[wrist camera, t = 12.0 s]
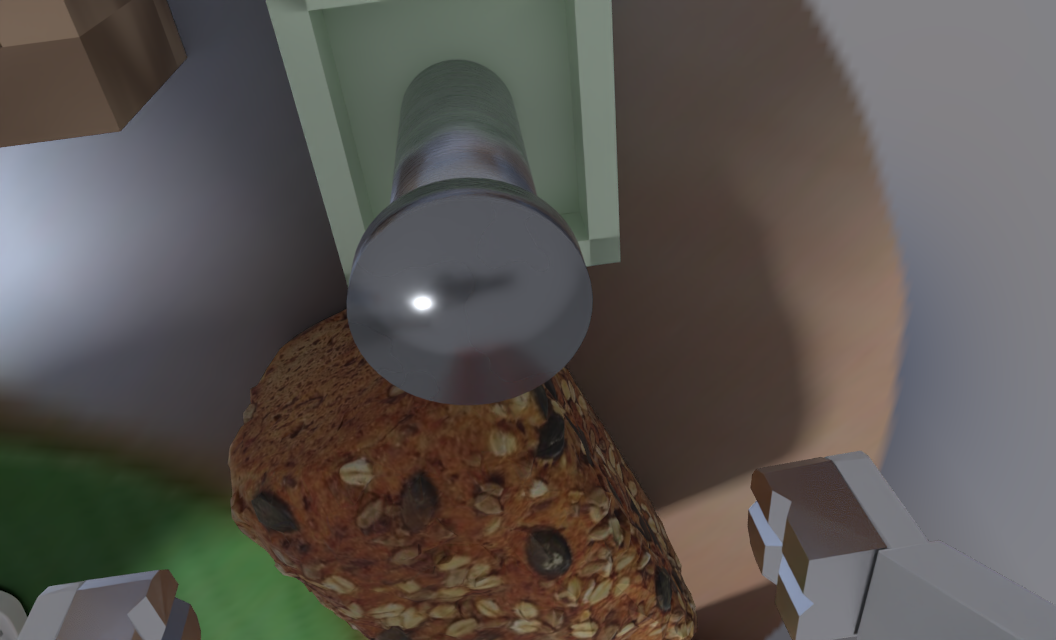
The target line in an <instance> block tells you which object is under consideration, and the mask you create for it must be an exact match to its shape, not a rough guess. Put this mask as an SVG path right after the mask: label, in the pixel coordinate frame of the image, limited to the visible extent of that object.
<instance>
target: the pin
mask: <svg viewBox="0 0 1056 640" xmlns="http://www.w3.org/2000/svg"><path fill="white" fill-rule="evenodd" d="M346 303H347V318H348V323H349V328H350V331H351V334H352V336H353V339H354V342H355V344H356V345H357V347H358V349H359V351H360V353H361V354H362V355H363V357H364V358H365V359H366V361H367V362H368V363H369V365H370V366H371V367H372V368H373V369H374V370H375V371H376V372H377V373H378V374H379V375H381V376H382V377H383V378H385V379H386V380H387V381H388V382H390V383H391V384H393V385H395V386H396V387H398V388H400V389H401V390H403V391H405V392H408V393H410V394H412V395H414V396H417V397H420V398H423V399H426V400H429V401H434V402H438V403H443V404H452V405H482V404H490V403H495V402H501V401H504V400H508V399H511V398H514V397H517V396H520V395H522V394H524V393H527V392H529V391H531V390H533V389H535V388H537V387H538V386H540V385H542V384H543V383H545V382H546V381H548V380H549V379H551V378H552V377H553V376H554V375H556V374H557V373H558V372H559V371H560V370H561V369H562V368H563V367H564V366H565V365H566V364H567V363H568V362H569V361H570V360H571V359H572V357H573V356H574V354H575V353H576V351H577V350H578V349H579V347H580V345H581V343H582V341H583V339H584V337H585V335H586V333H587V330H588V327H589V324H590V320H591V314H592V303H593V295H592V287H591V281H590V278H589V275H588V271H587V268H586V265H585V262H584V259H583V256H582V252H581V249H580V246H579V244H578V241H577V239H576V237H575V235H574V233H573V231H572V230H571V228H570V227H569V225H568V224H567V222H566V221H565V220H564V219H563V217H562V216H561V215H560V214H559V213H558V212H557V211H556V210H555V209H554V208H553V207H551V206H550V205H549V204H548V203H547V202H545V201H544V200H543V199H541V198H539V197H538V196H537V193H536V189H535V185H534V181H533V177H532V174H531V170H530V166H529V162H528V158H527V154H526V150H525V146H524V142H523V138H522V134H521V130H520V126H519V122H518V118H517V114H516V110H515V106H514V102H513V99H512V96H511V94H510V92H509V90H508V88H507V87H506V85H505V83H504V82H503V81H502V80H501V79H500V77H498V76H497V75H496V74H495V73H494V72H493V71H491V70H490V69H488V68H487V67H485V66H483V65H481V64H478V63H475V62H472V61H468V60H458V59H457V60H447V61H442V62H439V63H436V64H433V65H431V66H429V67H427V68H426V69H425V70H423V71H422V72H420V73H419V74H418V75H417V76H416V77H415V78H414V79H413V81H412V82H411V83H410V85H409V86H408V88H407V90H406V92H405V94H404V97H403V100H402V105H401V112H400V121H399V130H398V138H397V147H396V156H395V164H394V173H393V182H392V191H391V199H390V205H388V206H387V207H386V208H385V209H384V210H382V211H381V212H380V213H379V214H378V216H377V217H376V218H375V219H374V220H373V221H372V222H371V223H370V225H369V227H368V228H367V230H366V231H365V233H364V234H363V236H362V238H361V240H360V242H359V244H358V246H357V249H356V252H355V256H354V259H353V264H352V269H351V275H350V280H349V286H348V293H347V301H346Z"/></svg>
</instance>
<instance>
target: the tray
mask: <svg viewBox="0 0 1056 640" xmlns="http://www.w3.org/2000/svg"><path fill="white" fill-rule="evenodd" d="M266 4H267V7H268V11H269V14H270V18H271V21H272V25H273V28H274V32H275V35H276V39H277V42H278V46H279V49H280V53H281V56H282V60H283V63H284V66H285V70H286V73H287V77H288V80H289V84H290V87H291V91H292V94H293V98H294V101H295V105H296V108H297V112H298V115H299V119H300V122H301V125H302V129H303V132H304V136H305V139H306V143H307V146H308V150H309V153H310V157H311V160H312V164H313V167H314V171H315V174H316V178H317V181H318V184H319V188H320V191H321V195H322V198H323V202H324V205H325V209H326V212H327V216H328V219H329V223H330V226H331V230H332V233H333V237H334V240H335V243H336V247H337V250H338V254H339V257H340V261H341V264H342V268H343V271H344V275H345V278H346V282H347V285H348V286H349V280H350V275H351V269H352V264H353V259H354V256H355V252H356V249H357V246H358V244H359V242H360V240H361V238H362V236H363V234H364V233H365V231H366V230H367V228H368V227H369V225H370V223H371V222H372V221H373V220H374V219H375V218H376V217H377V216H378V214H379V213H380V212H381V211H382V210H384V209H385V208H386V207H387V206H388V205H390V199H391V191H392V182H393V173H394V164H395V156H396V147H397V138H398V130H399V121H400V112H401V105H402V100H403V97H404V94H405V92H406V90H407V88H408V86H409V85H410V83H411V82H412V81H413V79H414V78H415V77H416V76H417V75H418V74H419V73H420V72H422V71H423V70H425V69H426V68H427V67H429V66H431V65H433V64H436V63H439V62H442V61H447V60H457V59H458V60H468V61H472V62H475V63H478V64H481V65H483V66H485V67H487V68H488V69H490V70H491V71H493V72H494V73H495V74H496V75H497V76H498V77H500V79H501V80H502V81H503V82H504V83H505V85H506V87H507V88H508V90H509V92H510V94H511V96H512V99H513V102H514V106H515V110H516V114H517V118H518V122H519V126H520V130H521V134H522V138H523V142H524V146H525V150H526V154H527V158H528V162H529V166H530V170H531V174H532V177H533V181H534V185H535V189H536V193H537V196H538V197H539V198H541V199H543V200H544V201H545V202H547V203H548V204H549V205H550V206H551V207H553V208H554V209H555V210H556V211H557V212H558V213H559V214H560V215H561V216H562V217H563V219H564V220H565V221H566V222H567V224H568V225H569V227H570V228H571V230H572V231H573V233H574V235H575V237H576V239H577V241H578V244H579V246H580V249H581V252H582V256H583V259H584V262H585V265H586V267H587V266H594V265H601V264H609V263H616V262H621V260H620V231H619V202H618V173H617V144H616V116H615V87H614V58H613V29H612V0H266Z"/></svg>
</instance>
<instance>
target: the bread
mask: <svg viewBox="0 0 1056 640" xmlns="http://www.w3.org/2000/svg"><path fill="white" fill-rule="evenodd" d="M250 399H251V404H249V406H248V407H247V409H246V410H245V411H244V413H243V421H244V425H243V426H242V427H241V428H240V430H239V432H238V433H237V435H236V437H235V439H234V440H233V442H232V444H231V445H230V449H229V457H228V465H229V468H230V473H231V483H232V494H233V496H232V498H231V500H230V501H231V512H232V518H233V520H234V521H235V523H236V525H237V526H238V527H239V529H240V530H241V531H242V532H243V533H244V534H245V535H247V536H248V537H249V538H250V539H252V540H253V541H254V542H255V543H257V544H258V545H260V546H261V547H262V548H264V549H265V550H266V551H267V552H268V553H269V554H270V555H271V557H272V558H273V559H274V561H275V566H276V568H277V569H278V570H279V571H280V572H281V573H282V574H283V575H286V576H291V577H295V578H297V579H298V580H300V581H301V582H303V583H304V584H305V586H306V587H307V589H308V590H309V592H313V593H314V595H315V596H316V597H317V599H318V600H319V602H320V603H321V604H322V605H323V606H325V607H326V608H328V609H330V610H332V611H334V613H335V614H336V615H337V616H338V617H340V618H341V619H343V620H345V621H346V622H347V623H348V624H349V625H350V626H351V627H352V628H353V629H356V630H359V631H360V632H361V633H362V634H363V635H364V636H366V637H367V638H368V639H370V640H691V639H692V637H693V636H694V634H695V633H696V632H697V615H696V612H695V604H694V601H693V599H692V596H691V593H690V591H689V590H688V588H687V586H686V585H685V582H684V580H683V577H682V575H681V564H680V561H679V559H678V557H677V555H676V553H675V551H674V549H673V547H672V545H671V543H670V541H669V538H668V536H667V534H666V532H665V529H664V526H663V523H662V522H661V520H660V519H659V517H658V516H657V514H656V512H655V510H654V508H653V506H652V504H651V502H650V501H649V499H648V498H647V496H646V495H645V493H644V491H643V490H642V488H641V487H640V485H639V483H638V482H637V480H636V479H635V477H634V475H633V474H632V472H631V470H630V469H629V467H628V466H627V464H626V463H625V461H624V460H623V459H622V457H621V455H620V453H619V451H618V449H617V448H616V446H615V445H614V443H613V441H612V439H611V437H610V435H609V434H608V433H607V431H606V430H605V429H604V426H603V424H602V423H601V422H600V421H599V419H598V418H597V416H596V414H595V413H594V411H593V409H592V408H591V406H590V405H589V404H588V403H587V401H586V400H585V398H584V396H583V394H582V393H581V391H580V390H579V388H578V387H577V386H576V384H575V382H574V380H573V378H572V376H571V375H570V373H569V371H568V369H565V368H564V367H563V368H562V369H561V370H560V371H559V372H558V373H557V374H556V375H554V376H553V377H552V378H551V379H549V380H548V381H546V382H545V383H543V384H542V385H540V386H538V387H537V388H535V389H533V390H531V391H529V392H527V393H524V394H522V395H520V396H517V397H514V398H511V399H508V400H504V401H501V402H495V403H490V404H482V405H452V404H443V403H438V402H434V401H429V400H426V399H423V398H420V397H417V396H414V395H412V394H410V393H408V392H405V391H403V390H401V389H400V388H398V387H396V386H395V385H393V384H391V383H390V382H388V381H387V380H386V379H385V378H383V377H382V376H381V375H379V374H378V373H377V372H376V371H375V370H374V369H373V368H372V367H371V366H370V365H369V363H368V362H367V361H366V359H365V358H364V357H363V355H362V354H361V353H360V351H359V349H358V347H357V345H356V344H355V342H354V339H353V336H352V334H351V331H350V328H349V323H348V318H347V308H346V309H345V310H343V311H341V312H339V313H337V314H335V315H333V316H331V317H329V318H327V319H325V320H323V321H321V322H319V323H317V324H315V325H313V326H311V327H310V328H308V329H306V330H305V331H303V332H302V333H300V334H298V335H297V336H295V337H294V338H293V339H292V340H290V341H289V342H288V343H287V344H285V345H284V346H283V347H282V348H280V350H279V351H278V353H277V354H276V356H275V357H274V359H273V360H272V362H271V363H270V365H269V366H268V368H267V369H266V372H265V373H264V375H263V377H262V378H261V380H260V382H259V383H258V385H257V386H255V387H253V388H251V389H250Z"/></svg>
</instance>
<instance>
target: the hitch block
mask: <svg viewBox="0 0 1056 640" xmlns="http://www.w3.org/2000/svg"><path fill="white" fill-rule="evenodd" d="M186 59H187V56H186V53H185V50H184V47H183V44H182V42H181V39H180V36H179V33H178V31H177V28H176V25H175V22H174V19H173V17H172V14H171V11H170V8H169V6H168V3H167V0H0V147H7V146H15V145H22V144H30V143H37V142H45V141H52V140H60V139H67V138H74V137H82V136H89V135H97V134H104V133H112V132H119V131H121V130H122V129H123V128H124V127H125V126H126V125H127V124H128V123H129V121H130V120H131V119H132V118H133V117H134V116H135V115H136V114H137V113H138V112H139V110H140V109H141V108H142V107H143V106H144V105H145V104H146V103H147V102H148V101H149V99H150V98H151V97H152V96H153V95H154V94H155V93H156V92H157V91H158V90H159V89H160V87H161V86H162V85H163V84H164V83H165V82H166V81H167V80H168V79H169V78H170V76H171V75H172V74H173V73H174V72H175V71H176V70H177V69H178V68H179V67H180V66H181V64H182V63H183V62H184V61H185V60H186Z"/></svg>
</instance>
